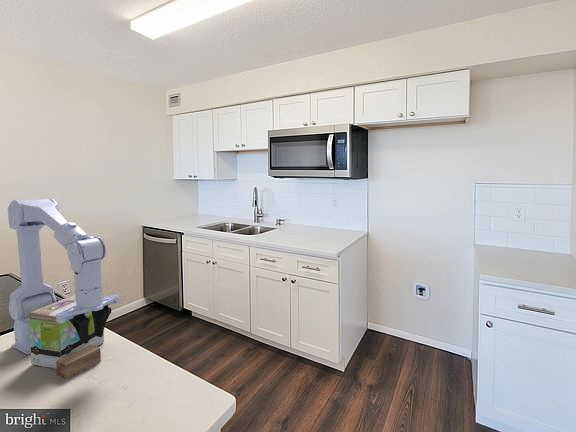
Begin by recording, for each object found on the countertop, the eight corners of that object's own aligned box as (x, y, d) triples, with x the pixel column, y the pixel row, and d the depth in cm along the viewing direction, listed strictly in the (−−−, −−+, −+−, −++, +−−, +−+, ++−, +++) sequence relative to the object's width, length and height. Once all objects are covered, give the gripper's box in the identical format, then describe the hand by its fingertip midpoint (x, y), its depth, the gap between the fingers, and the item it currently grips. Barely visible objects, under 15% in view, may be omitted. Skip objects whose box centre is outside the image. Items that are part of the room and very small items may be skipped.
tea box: (62, 370, 84) (58, 316, 82) (30, 365, 86) (26, 312, 84) (105, 342, 98) (103, 295, 97) (77, 338, 100) (75, 292, 99)
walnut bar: (57, 375, 82) (56, 360, 81) (91, 358, 90) (90, 344, 89) (66, 380, 80) (65, 364, 80) (101, 361, 88) (100, 347, 88)
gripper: (67, 299, 71) (70, 357, 73) (126, 281, 84) (128, 330, 86) (49, 293, 75) (53, 349, 76) (108, 277, 87) (111, 325, 89)
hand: (91, 339), depth 81 cm, fingers open, 3 cm apart
